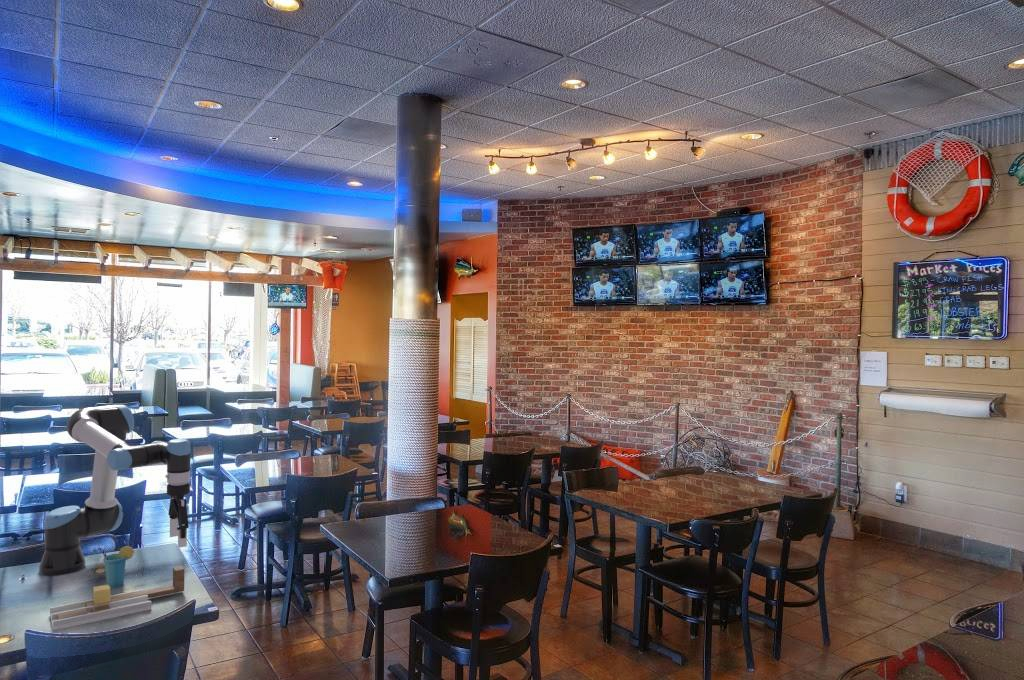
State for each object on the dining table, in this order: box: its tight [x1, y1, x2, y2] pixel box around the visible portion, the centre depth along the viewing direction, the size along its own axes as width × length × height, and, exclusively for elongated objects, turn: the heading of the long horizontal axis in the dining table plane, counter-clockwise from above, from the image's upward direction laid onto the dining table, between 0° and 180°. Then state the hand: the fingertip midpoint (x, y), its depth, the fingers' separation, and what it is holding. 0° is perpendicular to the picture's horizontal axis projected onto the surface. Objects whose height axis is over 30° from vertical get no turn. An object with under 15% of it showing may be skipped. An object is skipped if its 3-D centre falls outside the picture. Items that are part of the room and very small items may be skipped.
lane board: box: [49, 588, 152, 631], centre depth 234 cm, size 13×28×3 cm, turn 127°
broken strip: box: [57, 604, 110, 620], centre depth 229 cm, size 4×14×2 cm, turn 127°
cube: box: [92, 584, 111, 605], centre depth 237 cm, size 4×4×4 cm
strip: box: [86, 565, 185, 607], centre depth 243 cm, size 4×30×8 cm, turn 127°
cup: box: [90, 545, 135, 589], centre depth 257 cm, size 14×8×15 cm, turn 129°
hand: (178, 541), depth 251 cm, fingers open, 13 cm apart
